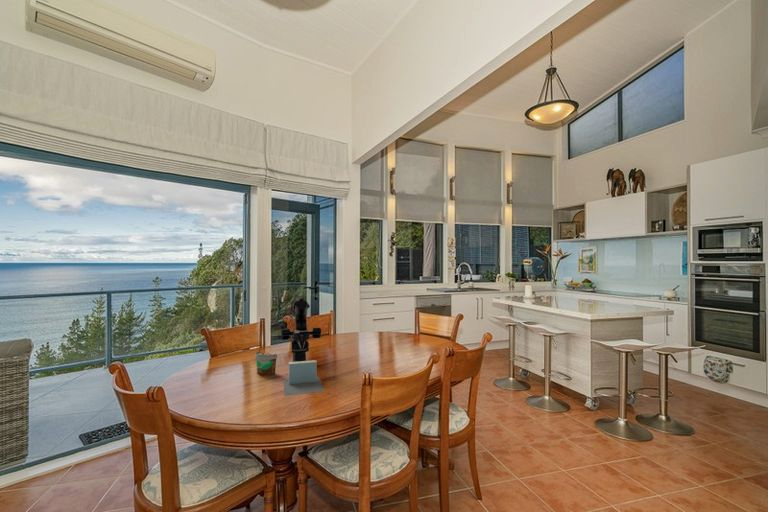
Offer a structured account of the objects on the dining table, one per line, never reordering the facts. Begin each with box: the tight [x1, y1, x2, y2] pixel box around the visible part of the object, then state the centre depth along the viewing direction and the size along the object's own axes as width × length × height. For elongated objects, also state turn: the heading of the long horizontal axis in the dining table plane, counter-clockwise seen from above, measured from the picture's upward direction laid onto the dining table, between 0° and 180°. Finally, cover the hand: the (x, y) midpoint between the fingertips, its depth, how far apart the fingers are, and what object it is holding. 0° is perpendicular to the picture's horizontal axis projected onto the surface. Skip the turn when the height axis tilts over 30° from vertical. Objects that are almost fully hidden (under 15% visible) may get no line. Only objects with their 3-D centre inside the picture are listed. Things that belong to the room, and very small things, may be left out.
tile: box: [288, 359, 318, 384], centre depth 155 cm, size 3×12×9 cm, turn 106°
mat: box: [283, 375, 325, 397], centre depth 152 cm, size 20×16×1 cm
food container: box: [254, 350, 278, 376], centre depth 167 cm, size 12×6×10 cm, turn 62°
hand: (302, 348), depth 163 cm, fingers closed
